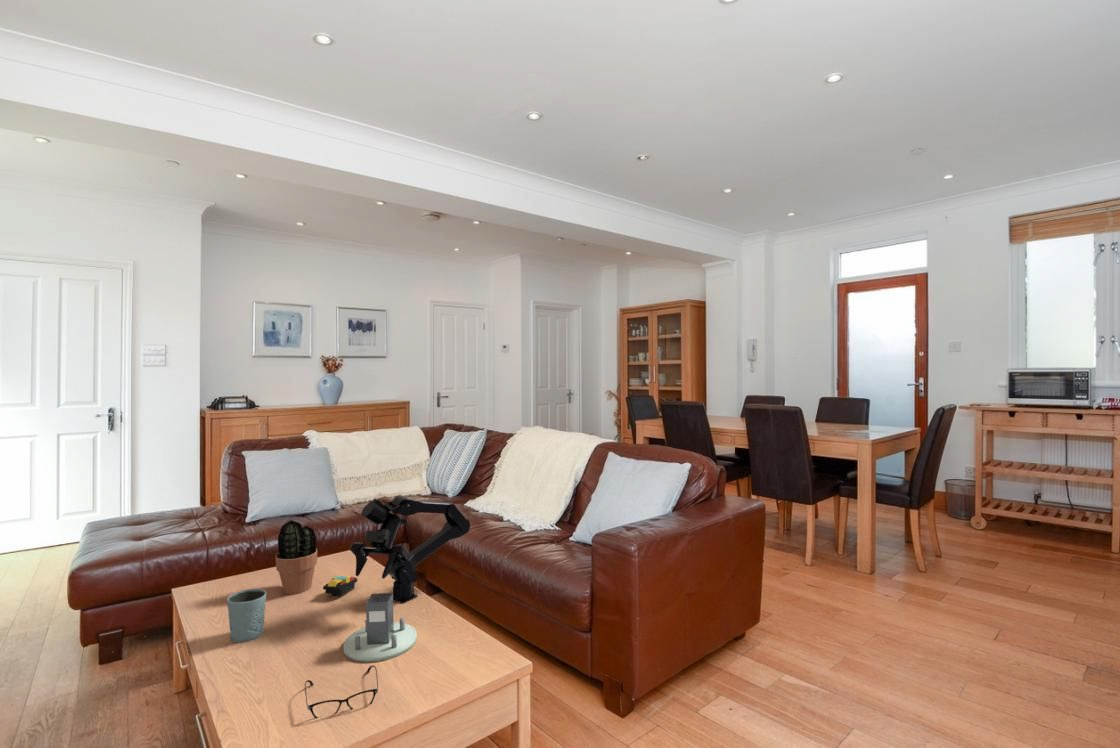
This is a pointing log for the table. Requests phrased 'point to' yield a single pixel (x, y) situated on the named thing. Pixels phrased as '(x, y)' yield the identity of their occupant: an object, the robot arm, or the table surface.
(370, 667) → the eyeglasses
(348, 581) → the gadget
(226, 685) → the table surface
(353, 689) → the table surface
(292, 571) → the potted plant
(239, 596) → the embossed blue-grey cup
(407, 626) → the pin plate
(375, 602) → the block
